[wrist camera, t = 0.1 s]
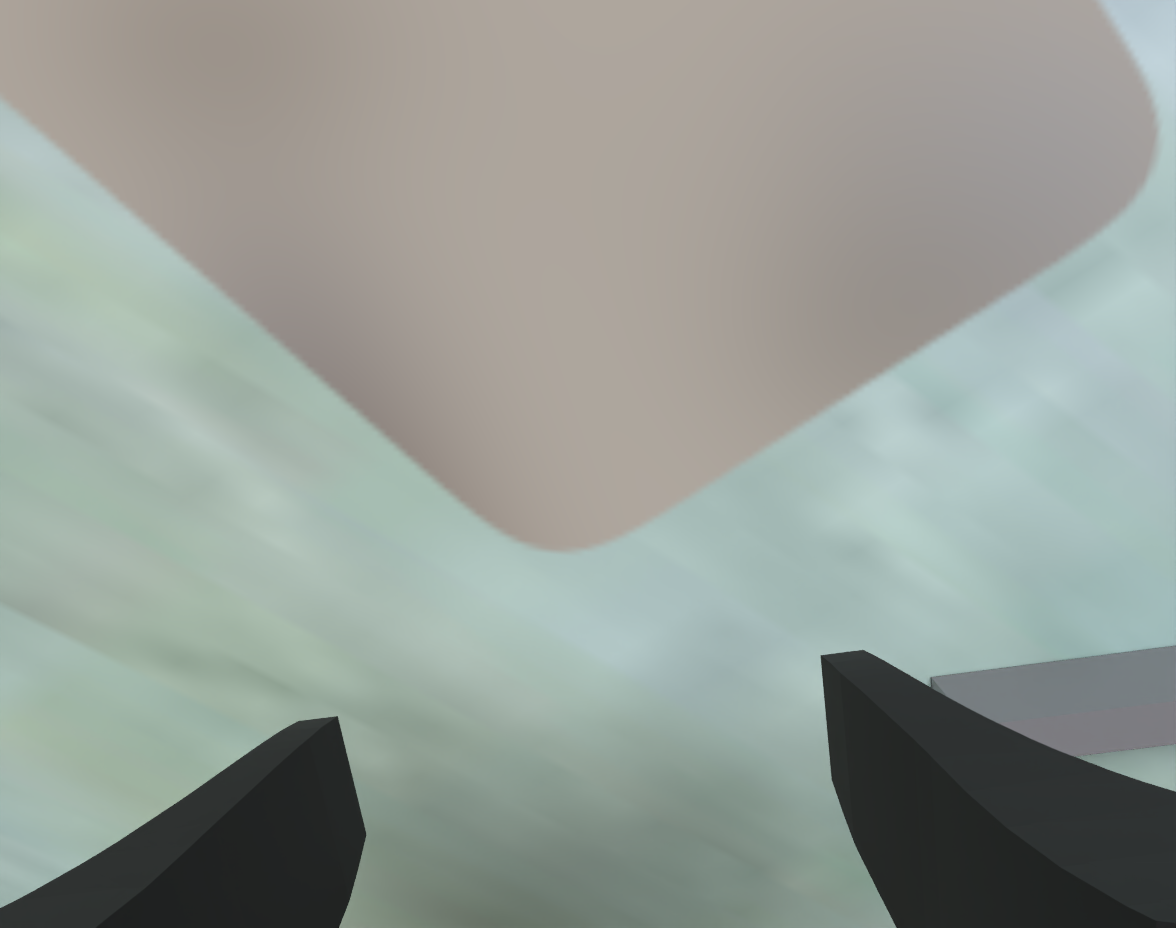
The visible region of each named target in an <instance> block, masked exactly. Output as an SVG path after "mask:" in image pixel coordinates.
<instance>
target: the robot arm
mask: <svg viewBox="0 0 1176 928" xmlns="http://www.w3.org/2000/svg"><path fill="white" fill-rule="evenodd" d="M821 665H822V676H823V687H824V698H825V709H826V720H827V732H828V743H829V754H830V765H831V776H832V782H833V784H834V787H835V790H836V793H837V796H838V799H839V802H840V805H841V808H842V811H843V813H844V816H845V819H846V822H847V824H848V827H849V830H850V833H851V835H852V838H853V841H854V843H855V845H856V847H857V850H858V852H859V854H860V856H861V858H862V860H863V862H864V864H865V866H866V868H867V870H868V872H869V874H870V876H871V878H872V880H873V882H874V884H875V886H876V888H877V890H878V892H879V894H880V896H881V898H882V900H883V902H884V904H885V906H886V908H887V910H888V912H889V914H890V916H891V918H892V919H893V921H894V923H895V925H896V927H897V928H1176V792H1175V791H1171V790H1168V789H1165V788H1161V787H1158V786H1155V785H1152V784H1148V783H1145V782H1142V781H1139V780H1136V779H1133V778H1130V777H1127V776H1124V775H1121V774H1118V773H1116V772H1113V771H1110V770H1107V769H1105V768H1102V767H1100V766H1097V765H1094V764H1092V763H1089V762H1087V761H1084V760H1081V759H1079V758H1076V757H1074V756H1071V755H1068V754H1066V753H1063V752H1061V751H1058V750H1056V749H1053V748H1051V747H1049V746H1046V745H1044V744H1042V743H1039V742H1037V741H1035V740H1033V739H1030V738H1028V737H1026V736H1024V735H1022V734H1020V733H1018V732H1016V731H1014V730H1011V729H1009V728H1007V727H1005V726H1003V725H1001V724H999V723H997V722H995V721H993V720H990V719H989V718H987V717H985V716H983V715H981V714H979V713H977V712H975V711H973V710H971V709H969V708H967V707H965V706H963V705H962V704H960V703H958V702H956V701H954V700H952V699H950V698H949V697H947V696H945V695H943V694H941V693H939V692H938V691H936V690H934V689H932V688H931V687H929V686H927V685H925V684H924V683H922V682H920V681H918V680H917V679H915V678H913V677H911V676H910V675H908V674H906V673H904V672H903V671H901V670H899V669H897V668H896V667H894V666H892V665H891V664H889V663H887V662H885V661H884V660H882V659H880V658H878V657H876V656H874V655H872V654H870V653H868V652H866V651H864V650H860V651H852V652H844V653H836V654H828V655H821ZM365 838H366V831H365V827H364V823H363V819H362V815H361V810H360V806H359V802H358V798H357V794H356V790H355V786H354V782H353V778H352V773H351V769H350V765H349V761H348V757H347V753H346V749H345V745H344V741H343V737H342V732H341V728H340V724H339V720H338V716H336V717H328V718H320V719H312V720H305V721H298V722H296V723H294V724H292V725H290V726H289V727H287V728H285V729H283V730H282V731H280V732H278V733H277V734H275V735H274V736H272V737H271V738H269V739H268V740H266V741H265V742H263V743H262V744H260V745H259V746H257V747H256V748H254V749H253V750H252V751H250V752H249V753H247V754H246V755H244V756H243V757H242V758H240V759H239V760H237V761H236V762H234V763H233V764H232V765H230V766H229V767H227V768H226V769H225V770H223V771H222V772H220V773H219V774H217V775H216V776H215V777H213V778H212V779H210V780H209V781H207V782H206V783H205V784H203V785H202V786H200V787H199V788H198V789H196V790H195V791H193V792H192V793H190V794H189V795H188V796H186V797H185V798H183V799H182V800H180V801H179V802H177V803H176V804H174V805H173V806H171V807H170V808H168V809H167V810H165V811H164V812H162V813H161V814H159V815H158V816H156V817H155V818H153V819H152V820H150V821H149V822H147V823H145V824H144V825H142V826H141V827H139V828H138V829H136V830H135V831H133V832H132V833H130V834H129V835H127V836H126V837H124V838H123V839H121V840H120V841H118V842H117V843H115V844H113V845H112V846H110V847H109V848H107V849H105V850H104V851H102V852H101V853H99V854H97V855H96V856H94V857H92V858H91V859H89V860H87V861H86V862H84V863H82V864H81V865H79V866H77V867H75V868H74V869H72V870H70V871H68V872H67V873H65V874H63V875H61V876H59V877H58V878H56V879H54V880H52V881H51V882H49V883H47V884H45V885H43V886H42V887H40V888H38V889H36V890H35V891H33V892H31V893H29V894H27V895H25V896H23V897H22V898H20V899H18V900H16V901H14V902H12V903H10V904H8V905H6V906H4V907H2V908H0V928H339V926H340V923H341V921H342V918H343V916H344V913H345V911H346V908H347V905H348V903H349V900H350V897H351V893H352V889H353V886H354V882H355V878H356V875H357V871H358V867H359V863H360V859H361V855H362V851H363V846H364V842H365Z"/></svg>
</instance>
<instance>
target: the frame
mask: <svg viewBox="0 0 1176 928" xmlns="http://www.w3.org/2000/svg"><path fill="white" fill-rule="evenodd" d="M931 681H932V689H934V690H936V691H938V692H939V693H941V694H943V695H945V696H947V697H949V698H950V699H952V700H954V701H956V702H958V703H960V704H962V705H963V706H965V707H967V708H969V709H971V710H973V711H975V712H977V713H979V714H981V715H983V716H985V717H987V718H989V719H990V720H993V721H995V722H997V723H999V724H1001V725H1003V726H1005V727H1007V728H1009V729H1011V730H1014V731H1016V732H1018V733H1020V734H1022V735H1024V736H1026V737H1028V738H1030V739H1033V740H1035V741H1037V742H1039V743H1042V744H1044V745H1046V746H1049V747H1051V748H1053V749H1056V750H1058V751H1061V752H1063V753H1066V754H1068V755H1071V756H1082V755H1090V754H1098V753H1106V752H1114V751H1122V750H1131V749H1139V748H1147V747H1155V746H1163V745H1172V744H1176V646H1171V647H1163V648H1155V649H1147V650H1139V651H1132V652H1124V653H1116V654H1108V655H1101V656H1093V657H1085V658H1077V659H1069V660H1062V661H1054V662H1046V663H1038V664H1031V665H1023V666H1015V667H1007V668H999V669H992V670H984V671H976V672H968V673H961V674H953V675H945V676H937V677H931Z"/></svg>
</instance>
